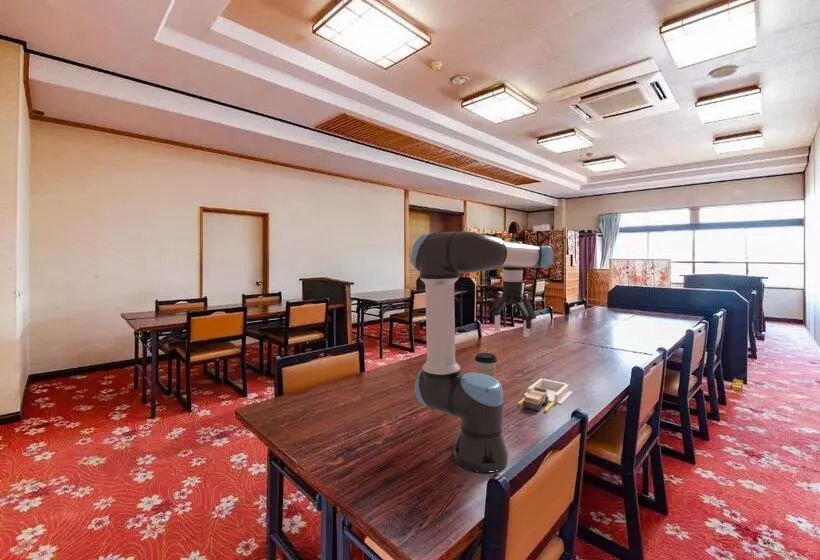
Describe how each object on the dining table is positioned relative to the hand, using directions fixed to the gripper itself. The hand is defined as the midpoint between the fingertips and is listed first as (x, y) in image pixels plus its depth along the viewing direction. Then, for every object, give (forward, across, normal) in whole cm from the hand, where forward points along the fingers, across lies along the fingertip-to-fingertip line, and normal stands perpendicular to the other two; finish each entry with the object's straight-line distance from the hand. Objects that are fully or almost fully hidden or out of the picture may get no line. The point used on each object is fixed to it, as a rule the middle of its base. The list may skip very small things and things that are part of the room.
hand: (511, 333), depth 150 cm
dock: (+26, -9, -11) cm, 30 cm away
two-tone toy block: (+26, -11, -2) cm, 29 cm away
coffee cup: (+27, +12, 0) cm, 29 cm away
